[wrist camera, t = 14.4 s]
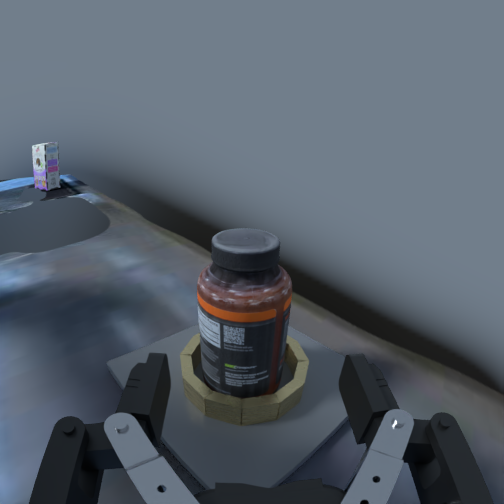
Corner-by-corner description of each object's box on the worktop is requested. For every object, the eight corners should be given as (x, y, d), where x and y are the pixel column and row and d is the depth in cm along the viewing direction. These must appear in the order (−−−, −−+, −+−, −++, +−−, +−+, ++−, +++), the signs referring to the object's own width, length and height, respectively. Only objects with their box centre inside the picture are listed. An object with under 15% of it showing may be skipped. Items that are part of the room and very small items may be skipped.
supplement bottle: (263, 348, 26) (274, 220, 22) (293, 396, 21) (318, 252, 17) (194, 360, 24) (188, 225, 20) (213, 415, 19) (208, 263, 15)
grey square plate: (108, 370, 23) (106, 361, 23) (247, 309, 34) (247, 301, 33) (236, 517, 13) (236, 512, 12) (378, 384, 23) (381, 376, 23)
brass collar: (160, 370, 23) (157, 351, 22) (246, 328, 29) (247, 310, 28) (239, 447, 17) (240, 430, 16) (326, 379, 23) (331, 360, 22)
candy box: (61, 187, 93) (58, 141, 87) (47, 191, 89) (44, 143, 82) (47, 185, 100) (44, 142, 93) (34, 188, 95) (31, 145, 89)
